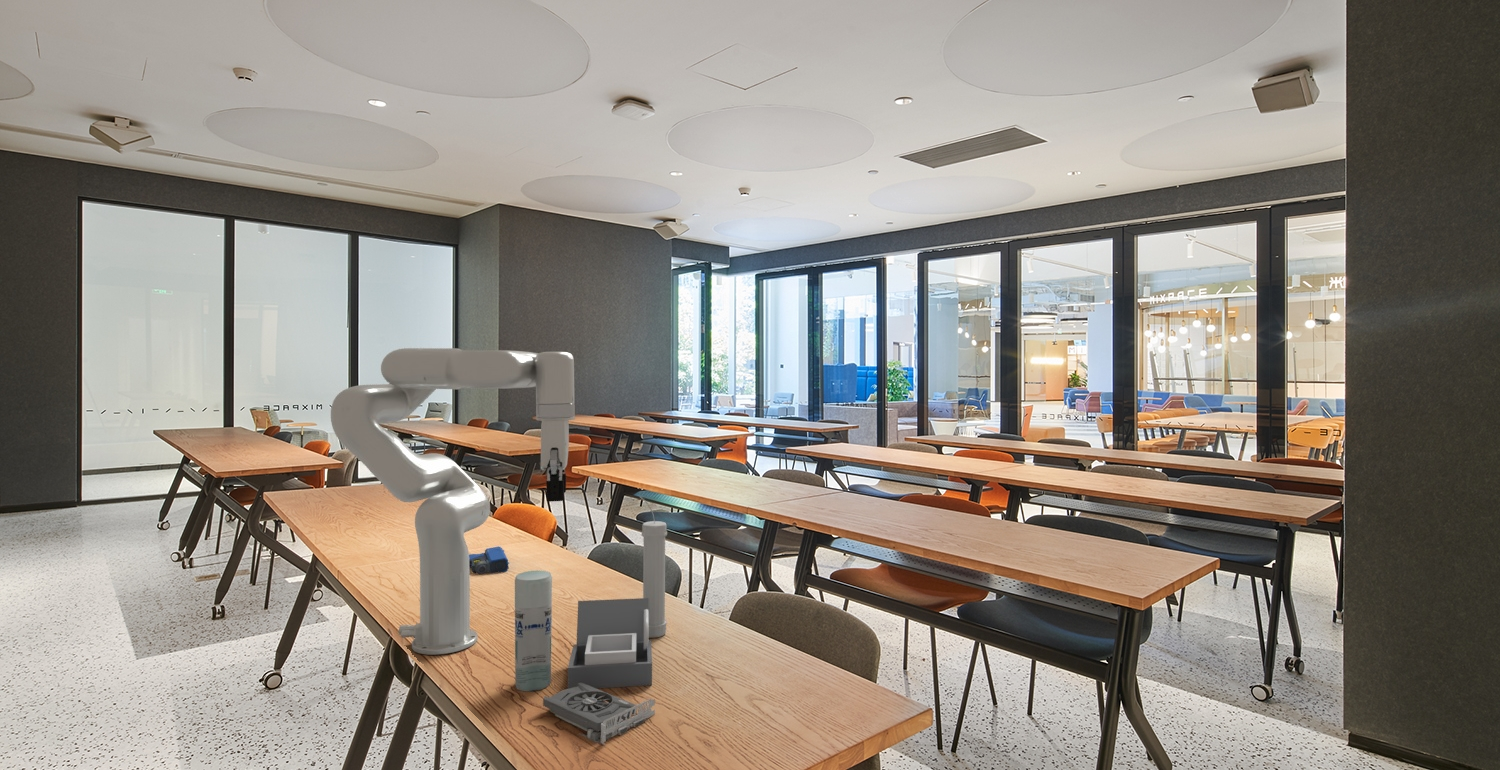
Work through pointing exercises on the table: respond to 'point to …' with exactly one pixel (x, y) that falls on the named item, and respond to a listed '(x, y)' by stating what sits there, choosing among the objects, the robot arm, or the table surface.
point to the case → (612, 644)
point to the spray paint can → (533, 630)
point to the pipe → (654, 574)
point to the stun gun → (489, 561)
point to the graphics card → (597, 711)
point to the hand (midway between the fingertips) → (556, 496)
